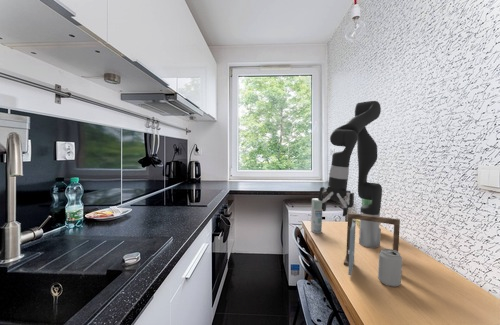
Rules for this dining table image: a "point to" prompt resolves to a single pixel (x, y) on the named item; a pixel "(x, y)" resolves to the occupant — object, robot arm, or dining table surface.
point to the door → (351, 247)
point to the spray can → (316, 216)
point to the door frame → (374, 219)
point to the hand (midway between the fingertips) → (333, 213)
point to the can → (390, 267)
